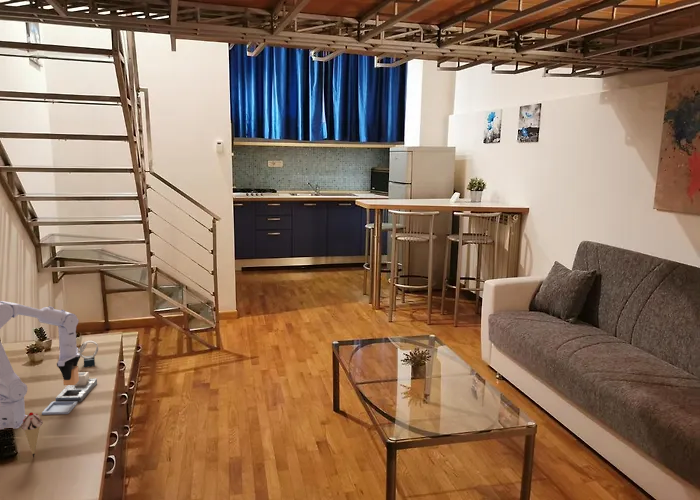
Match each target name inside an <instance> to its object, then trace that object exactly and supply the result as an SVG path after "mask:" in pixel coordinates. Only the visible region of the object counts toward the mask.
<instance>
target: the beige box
mask: <svg viewBox="0 0 700 500" xmlns="http://www.w3.org/2000/svg"><path fill="white" fill-rule="evenodd" d="M78 373H79V381H78V382H77V383H76V384H75V385H87V384H88V382H89V379H90V378H89V377H90V376H89V375H90V374H89V371H86V372H85V371H83V372H82V371H81V372H80V371H78Z"/></svg>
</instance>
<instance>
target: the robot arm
mask: <svg viewBox="0 0 700 500" xmlns="http://www.w3.org/2000/svg"><path fill="white" fill-rule="evenodd" d="M18 315H19V316H23V317H30V318H36V319H37V320H38V322H39V323H42V324H46V325H51V326H56V327H57V330H58V347H59V355H58V360H57V362H56V367H57V368H58V369H59V371H60V373H61V375H62V377H63V378H64V380H70V379H71V371H72V367H73V366H78V363H79V362H80V360H81V356H80V352H79V349H80V347H77V332H76V331H77V326H78V324H79V323H80V322H79V321H80V319H79V318H78V316H77V315H76V314H75V313H72V312H69V311H66V310H65V309H55V308H54V306H51V305H48V307H47V306H44V307H42V308H40V309H39V308H37V307H32V306H28V305H24V304H21V303H16V302H13V301H11V302H10V301H4V300H0V329H2V328H3V327H4V326H5V325H6V324H7V323H8V322H9V321H10V320H11V319H12V318H13V319H15V318H16V317H18ZM27 393H28V385H27V384H26V383H24V382H23V381H22V380H21V378H20V376H18V375H17V373H16V372H15V371H14V369H13V366H12V363H11V361H10V359H9V357H8V355H7V353H6V350H5V348H4V345H3V343H2V341H1V340H0V430H5V429H4V428H13V430H14V429H19V428H21V424H22V423H23V420H24V418H25V416H27V415H28V414H26V408H25V407H26V406H25V405H26V404H25V396H26V394H27Z"/></svg>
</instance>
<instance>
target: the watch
mask: <svg viewBox="0 0 700 500" xmlns="http://www.w3.org/2000/svg"><path fill="white" fill-rule="evenodd" d="M88 344H94V345H95V346H96V349H95V351H94V353H93V354H92V355H87V356H86V355H83V354H82V353H84V351H85V349H86V348H87V345H88ZM98 351H99V345H98V343H97V342H96V341H94V340H92V339H91V340H86V341H83V342H82V343H81V344H80V347H79V352H78V353H80V358H83V368H89V367H95V366H96V365H95V364H96V362H95V361H96V360H95V357H96V356H97V354H98Z"/></svg>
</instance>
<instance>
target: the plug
mask: <svg viewBox="0 0 700 500" xmlns="http://www.w3.org/2000/svg"><path fill="white" fill-rule="evenodd" d="M78 372H79V365H77V366H73V367H72V371H71V379H70V380H64V378H63V381H62V382H63V386H67V385H75V384H76V383H77V382H78V381H79V373H78Z"/></svg>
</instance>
